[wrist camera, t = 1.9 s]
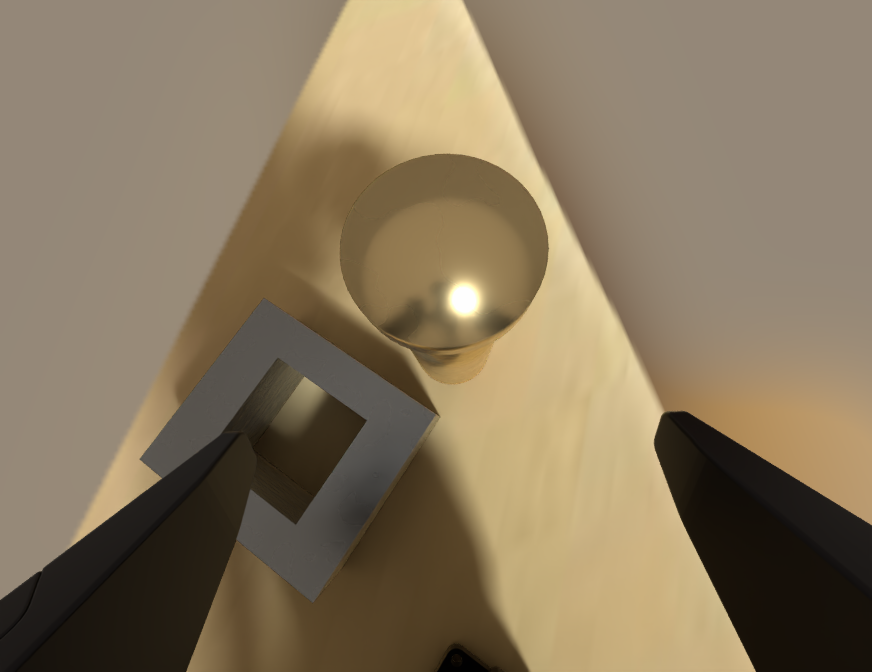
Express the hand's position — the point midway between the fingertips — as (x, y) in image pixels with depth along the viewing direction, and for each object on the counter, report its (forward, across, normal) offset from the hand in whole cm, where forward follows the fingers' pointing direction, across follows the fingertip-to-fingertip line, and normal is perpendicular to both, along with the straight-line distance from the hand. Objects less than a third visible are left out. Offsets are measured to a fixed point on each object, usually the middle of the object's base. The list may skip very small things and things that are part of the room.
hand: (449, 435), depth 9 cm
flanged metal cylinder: (+12, 0, +6) cm, 14 cm away
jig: (+9, +8, +9) cm, 15 cm away
